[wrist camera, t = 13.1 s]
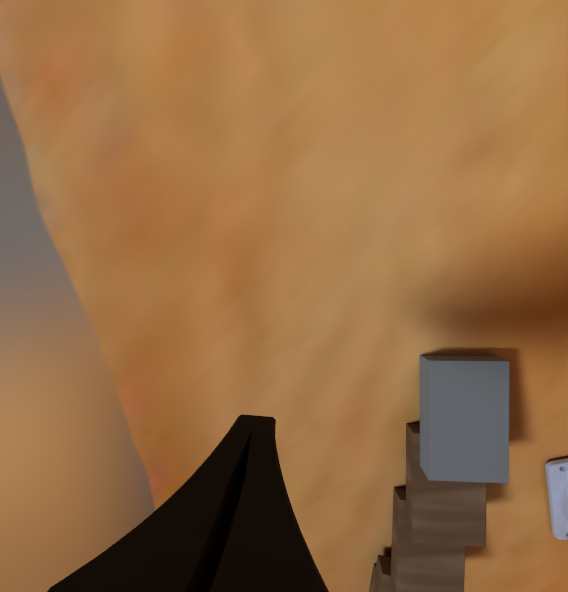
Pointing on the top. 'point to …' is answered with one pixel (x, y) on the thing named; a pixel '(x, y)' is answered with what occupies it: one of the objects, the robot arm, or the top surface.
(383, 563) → the domino
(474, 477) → the domino
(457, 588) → the domino
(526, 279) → the top surface
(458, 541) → the domino
